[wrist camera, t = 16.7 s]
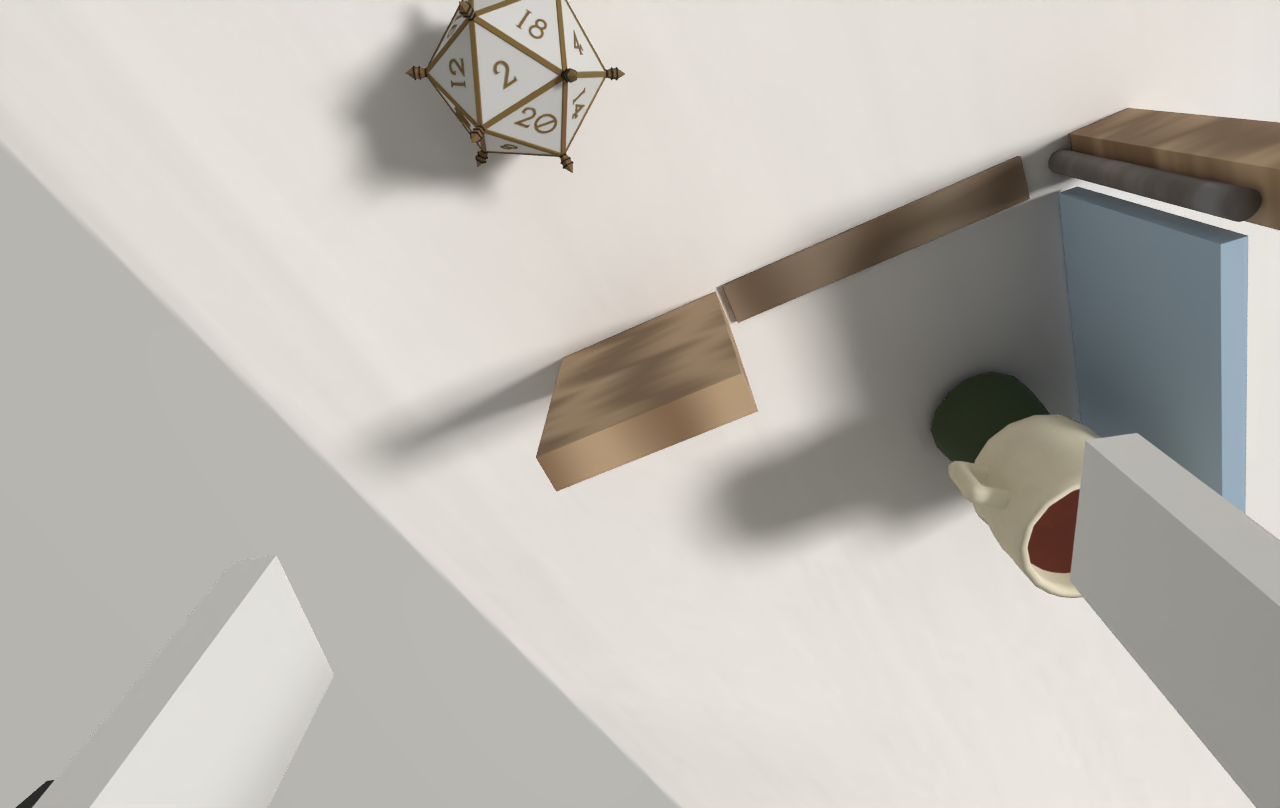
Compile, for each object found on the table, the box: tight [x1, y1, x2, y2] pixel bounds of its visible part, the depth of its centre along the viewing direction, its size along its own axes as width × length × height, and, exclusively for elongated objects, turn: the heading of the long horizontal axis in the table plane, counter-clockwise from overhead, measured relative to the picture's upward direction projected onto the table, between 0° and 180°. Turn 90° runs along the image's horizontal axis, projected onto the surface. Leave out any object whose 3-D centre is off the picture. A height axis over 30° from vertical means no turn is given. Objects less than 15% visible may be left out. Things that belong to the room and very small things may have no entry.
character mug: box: [931, 372, 1101, 598], centre depth 39 cm, size 11×7×13 cm, turn 78°
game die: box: [406, 0, 625, 173], centre depth 33 cm, size 9×8×10 cm
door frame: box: [536, 108, 1280, 491], centre depth 34 cm, size 33×2×14 cm, turn 115°
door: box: [1058, 187, 1248, 514], centre depth 37 cm, size 18×2×12 cm, turn 20°
